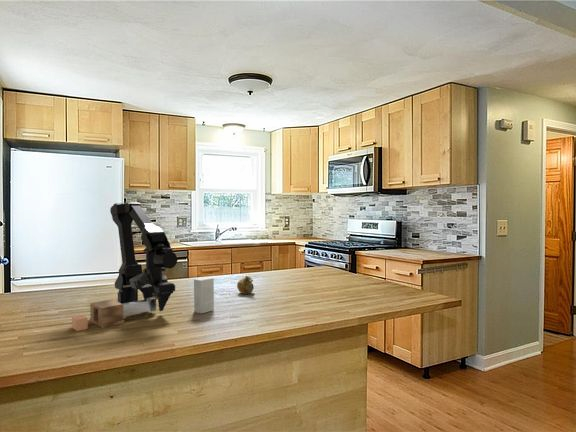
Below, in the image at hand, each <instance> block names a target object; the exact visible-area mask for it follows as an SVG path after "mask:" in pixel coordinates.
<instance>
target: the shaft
mask: <svg viewBox="0 0 576 432" xmlns="http://www.w3.org/2000/svg"><path fill="white" fill-rule="evenodd" d="M156 311H157V298H156V297H153V296H152V297H150V298H147V299H146V300H144V299H141V300H138V301H135V302H129V303H124V304H123V317H126V316H128V317H129V316H132V315H137V314H143V313H147V312H156Z"/></svg>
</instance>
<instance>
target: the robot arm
mask: <svg viewBox="0 0 576 432" xmlns="http://www.w3.org/2000/svg"><path fill="white" fill-rule="evenodd" d="M109 211H110V214H111V219H112V221H113V222H114V224H115V225H116V227H117V228H118V229H117V230H118V237H119V238H118V239H119V246H120V253H121V261H122V262H121V265H120V266H119V269H118V276H117V278H116V279H115V281H114V287H115V289H117V290H118V291H117V302H119V303H122V304H124V303H129V302H135V301H139V292H141V293H142V296H143V300H146V299H147V298H150V297H153V296H156V297H157V304H158V310H159V312H163V311H164V309H165V307H166V305H167V303H168V301H169V299H170V297H171V296H172V294H173V293H174V292H176V284H175V283H174V282H170V281H168V282H165V279H163V275H164V274H163V273H164V272H166V269H173V268H174V267H175V266H176V265H177V263H178V256H177V254H176V253H175V252H173V247H172V248H171V243H170V242H169V240H168V238H167V235H166V233H165V230H163V229H162V228H161V227H160V226H157V225H155V224H154V223H153V222H152V220H151V219H150V217H149V216H148V215H147V213H146V211H144V209H143V207H142V204H141V203H140V202H133V201H132V202H131V201H128V202H126V203H123V202H122V203H118V202H117V203H114V204H113V205H111V207H110V210H109ZM133 222H134V224H135V225H136V226H137V228H138V229H139V232H140V233H141V235H140V240H141V241H142V243H143V245H144V246H145V248H144V249H143V252H144V253H145V267H144V268H143V266H142V264H141V263H138V262H137V261H136V253H135V245H134V244H135V243H134V236H133V230H132V224H133ZM163 282H165V283H163ZM154 290H155V292H156V293H154V294H155V295H153V291H154Z"/></svg>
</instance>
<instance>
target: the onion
mask: <svg viewBox="0 0 576 432" xmlns="http://www.w3.org/2000/svg"><path fill="white" fill-rule="evenodd" d="M253 282H254V279H252V277H250V276H249V275H245V277H243V278H241V279H239V280H238V281H237V283H236V288H237V290H238V292H240V293H241V294H244V295H248V294H251V293H252V292H253V291H254V289H255V287H254V286H255V285H254V283H253Z"/></svg>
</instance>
